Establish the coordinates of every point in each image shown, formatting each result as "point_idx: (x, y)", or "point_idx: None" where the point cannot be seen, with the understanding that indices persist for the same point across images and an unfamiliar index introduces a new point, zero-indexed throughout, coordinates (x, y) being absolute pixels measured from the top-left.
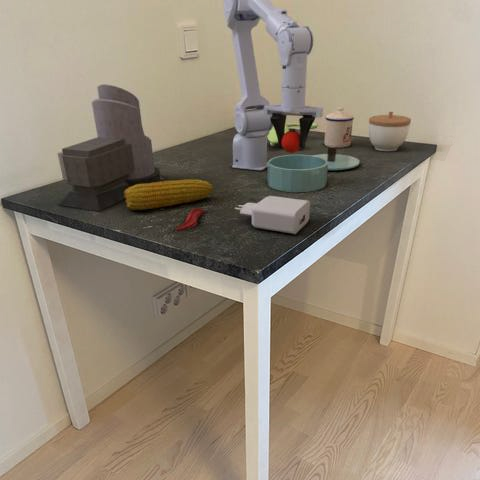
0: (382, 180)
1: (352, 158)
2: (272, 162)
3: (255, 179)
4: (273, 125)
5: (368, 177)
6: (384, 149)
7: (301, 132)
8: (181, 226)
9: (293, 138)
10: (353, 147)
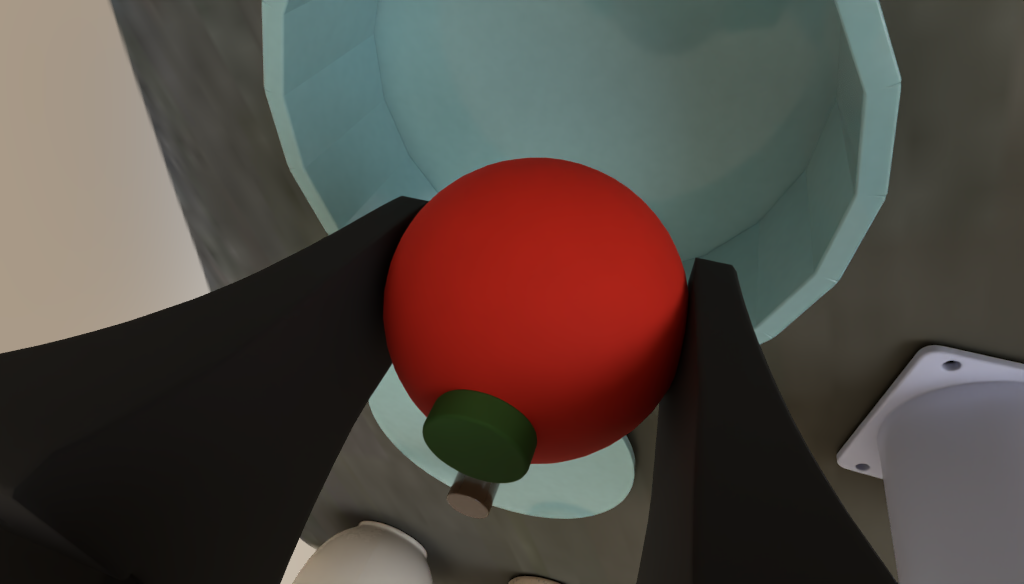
0: (198, 229)
1: (421, 458)
2: (827, 222)
3: (1012, 132)
4: (877, 571)
5: (269, 265)
6: (381, 528)
7: (267, 305)
8: None
9: (436, 249)
10: (493, 569)
